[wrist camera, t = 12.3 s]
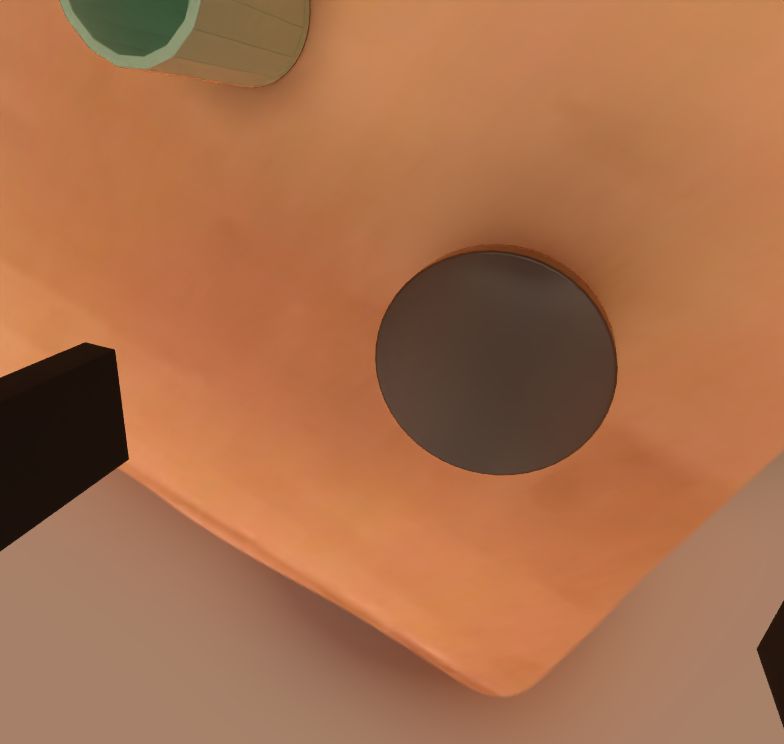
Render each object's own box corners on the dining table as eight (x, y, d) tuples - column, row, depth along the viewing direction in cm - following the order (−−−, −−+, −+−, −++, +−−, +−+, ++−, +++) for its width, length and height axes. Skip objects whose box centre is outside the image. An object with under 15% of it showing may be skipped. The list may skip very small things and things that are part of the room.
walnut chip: (376, 428, 21) (365, 444, 19) (397, 226, 17) (385, 231, 16) (582, 482, 19) (582, 502, 18) (646, 266, 16) (651, 275, 15)
